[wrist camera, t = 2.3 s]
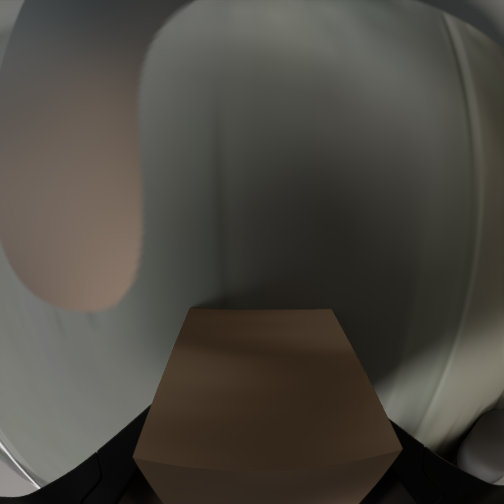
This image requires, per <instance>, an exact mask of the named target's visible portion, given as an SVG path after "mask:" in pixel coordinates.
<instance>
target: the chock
mask: <svg viewBox="0 0 504 504" xmlns="http://www.w3.org/2000/svg"><path fill="white" fill-rule="evenodd" d="M402 449H403V448H402V446H401V444H400V442H399V440H398V438H397V436H396V433H395V431H394V429H393V427H392V425H391V423H390V421H389V419H388V417H387V415H386V413H385V411H384V409H383V406H382V404H381V402H380V400H379V398H378V396H377V394H376V392H375V390H374V388H373V386H372V384H371V383H370V381H369V379H368V377H367V375H366V373H365V371H364V369H363V367H362V365H361V363H360V361H359V359H358V357H357V355H356V354H355V352H354V350H353V348H352V346H351V344H350V342H349V340H348V339H347V337H346V335H345V333H344V331H343V329H342V328H341V326H340V324H339V322H338V320H337V318H336V317H335V315H334V313H333V311H332V309H297V310H239V309H201V308H190V309H189V311H188V314H187V316H186V319H185V321H184V323H183V326H182V328H181V331H180V333H179V336H178V338H177V341H176V343H175V345H174V348H173V350H172V353H171V355H170V358H169V360H168V363H167V366H166V368H165V371H164V373H163V376H162V378H161V381H160V383H159V386H158V389H157V391H156V394H155V397H154V399H153V402H152V405H151V407H150V410H149V413H148V415H147V418H146V421H145V423H144V426H143V429H142V432H141V435H140V437H139V440H138V443H137V446H136V449H135V452H134V454H133V459H134V460H135V462H136V464H137V465H138V467H139V469H140V470H141V472H142V473H143V475H144V477H145V478H146V480H147V481H148V483H149V484H150V486H151V487H152V488H153V490H154V491H155V493H156V494H157V496H158V497H159V498H160V500H161V501H162V502H163V504H359V503H360V502H361V501H362V500H363V498H364V497H365V496H366V495H367V494H368V493H369V492H370V491H371V489H372V488H373V487H374V486H375V485H376V484H377V482H378V481H379V480H380V479H381V477H382V476H383V475H384V474H385V472H386V471H387V470H388V469H389V467H390V466H391V465H392V463H393V462H394V461H395V459H396V458H397V456H398V455H399V454H400V452H401V451H402Z"/></svg>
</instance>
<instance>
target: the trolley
mask: <svg viewBox="0 0 504 504" xmlns="http://www.w3.org/2000/svg"><path fill="white" fill-rule="evenodd" d="M457 463H458V467H459V468H460V469H462V470H463V471H465V472H467V473H469V474H471V475H473V476H475V477H477V478H479V479H481V480H483V481H486V482H488V483H491V484H493V483H495V482H497V481H498V480H500V479H501V478H502V477H503V476H504V410H500V409H497V410H491V411H489V412H486V413H485V414H484V415H482V416H481V417H480V419H479V420H478V422H477V423H476V424H475V426H474V427H473V429H472V430H471V431H470V433H469V434H468V435H467V437H466V438H465V439H464V441H463V442H462V443H461V445H460V447H459V449H458V453H457Z"/></svg>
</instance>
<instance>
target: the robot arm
mask: <svg viewBox="0 0 504 504" xmlns="http://www.w3.org/2000/svg"><path fill="white" fill-rule="evenodd" d="M151 405H152V404H151ZM151 405H150V406H149V407H147V408H146V409H145V410H144V411H143V412H142V413H141V414H140V415H138V416H137V417H136V418H135V419H134V420H133V421H132V422H130V423H129V424H128V425H127V426H126V427H125V428H124V429H122V430H121V431H120V432H119V433H118V434H117V435H115V436H114V437H113V438H112V439H111V440H109V441H108V442H107V443H106V444H105V445H104V446H102V447H101V448H100V449H99V450H98V451H97V453H96V452H95V453H94V454H93V455H91V456H90V457H89V458H88V459H86V460H85V461H84V462H82V463H81V464H80V465H78V466H77V467H76V468H74V469H73V470H71V471H70V472H68V473H67V474H65V475H63V476H62V477H60V478H58V479H57V480H55V481H53V482H51V483H50V484H48V485H46V486H44V487H42V488H40V489H39V490H37V491H35V492H33V493H30V494H28V495H25V496H20V497H0V504H163V502H162V501H161V500H160V498H159V497H158V496H157V494H156V493H155V491H154V490H153V488H152V487H151V486H150V484H149V483H148V481H147V480H146V478H145V477H144V475H143V473H142V472H141V470H140V469H139V467H138V465H137V464H136V462H135V460H134V459H133V454H134V452H135V449H136V446H137V443H138V440H139V437H140V435H141V432H142V429H143V426H144V423H145V421H146V418H147V415H148V413H149V410H150V407H151ZM388 419H389V418H388ZM389 421H390V423H391V425H392V427H393V429H394V431H395V433H396V436H397V438H398V440H399V442H400V444H401V446H402V448H403V449H402V451H401V452H400V454H399V455H398V456H397V458H396V459H395V461H394V462H393V463H392V465H391V466H390V467H389V469H388V470H387V471H386V472H385V474H384V475H383V476H382V477H381V479H380V480H379V481H378V482H377V484H376V485H375V486H374V487H373V488H372V489H371V491H370V492H369V493H368V494H367V495H366V496H365V497H364V498H363V500H362V501H361V502H360V503H359V504H504V485H496V484H491V483H488V482H486V481H483V480H481V479H479V478H477V477H475V476H473V475H471V474H469V473H467V472H465V471H463V470H462V469H460V468H458V467H456V466H454V465H453V464H451V463H449V462H447V461H446V460H444V459H443V458H441V457H440V456H438V455H437V454H435V453H434V452H433V451H431V450H430V449H429V448H427V447H424V445H423V444H422V443H420V442H419V441H418V440H416V439H415V438H414V437H412V436H411V435H410V434H408V433H407V432H406V431H404V430H403V429H402V428H401V427H399V426H398V425H397V424H395V423H394V422H393V421H392V420H390V419H389Z"/></svg>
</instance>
